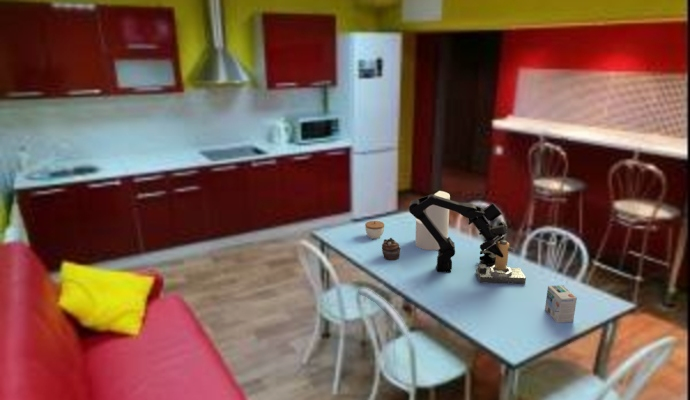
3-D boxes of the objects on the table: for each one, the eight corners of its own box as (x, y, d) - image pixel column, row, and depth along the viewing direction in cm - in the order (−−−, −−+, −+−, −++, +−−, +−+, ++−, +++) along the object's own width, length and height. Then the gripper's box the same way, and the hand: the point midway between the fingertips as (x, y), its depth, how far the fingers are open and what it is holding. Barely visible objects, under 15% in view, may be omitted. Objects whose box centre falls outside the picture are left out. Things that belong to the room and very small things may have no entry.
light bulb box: (544, 308, 195) (547, 285, 192) (560, 307, 196) (563, 284, 193) (557, 323, 185) (560, 298, 182) (574, 322, 186) (577, 297, 182)
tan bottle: (493, 267, 219) (495, 241, 215) (497, 263, 223) (500, 238, 219) (508, 272, 215) (511, 245, 211) (512, 268, 219) (515, 241, 215)
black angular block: (503, 266, 233) (504, 254, 231) (492, 269, 230) (493, 256, 228) (489, 258, 241) (490, 246, 239) (478, 261, 238) (479, 249, 236)
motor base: (480, 282, 217) (480, 273, 216) (476, 272, 227) (476, 263, 225) (525, 283, 216) (526, 273, 214) (519, 273, 225) (520, 264, 224)
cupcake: (391, 263, 239) (391, 244, 236) (377, 257, 246) (378, 239, 243) (404, 257, 245) (404, 239, 242) (390, 251, 252) (391, 234, 248)
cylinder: (452, 241, 263) (454, 193, 254) (440, 252, 249) (442, 202, 240) (423, 235, 272) (424, 188, 263) (410, 246, 258) (411, 196, 249)
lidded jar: (384, 240, 266) (384, 224, 263) (365, 240, 266) (365, 224, 264) (383, 233, 276) (383, 217, 274) (365, 233, 277) (364, 218, 274)
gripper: (488, 224, 208) (511, 253, 205) (504, 212, 221) (526, 239, 218) (470, 236, 215) (492, 265, 212) (487, 224, 229) (507, 251, 226)
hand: (505, 255), depth 217 cm, fingers closed on tan bottle, 5 cm apart
